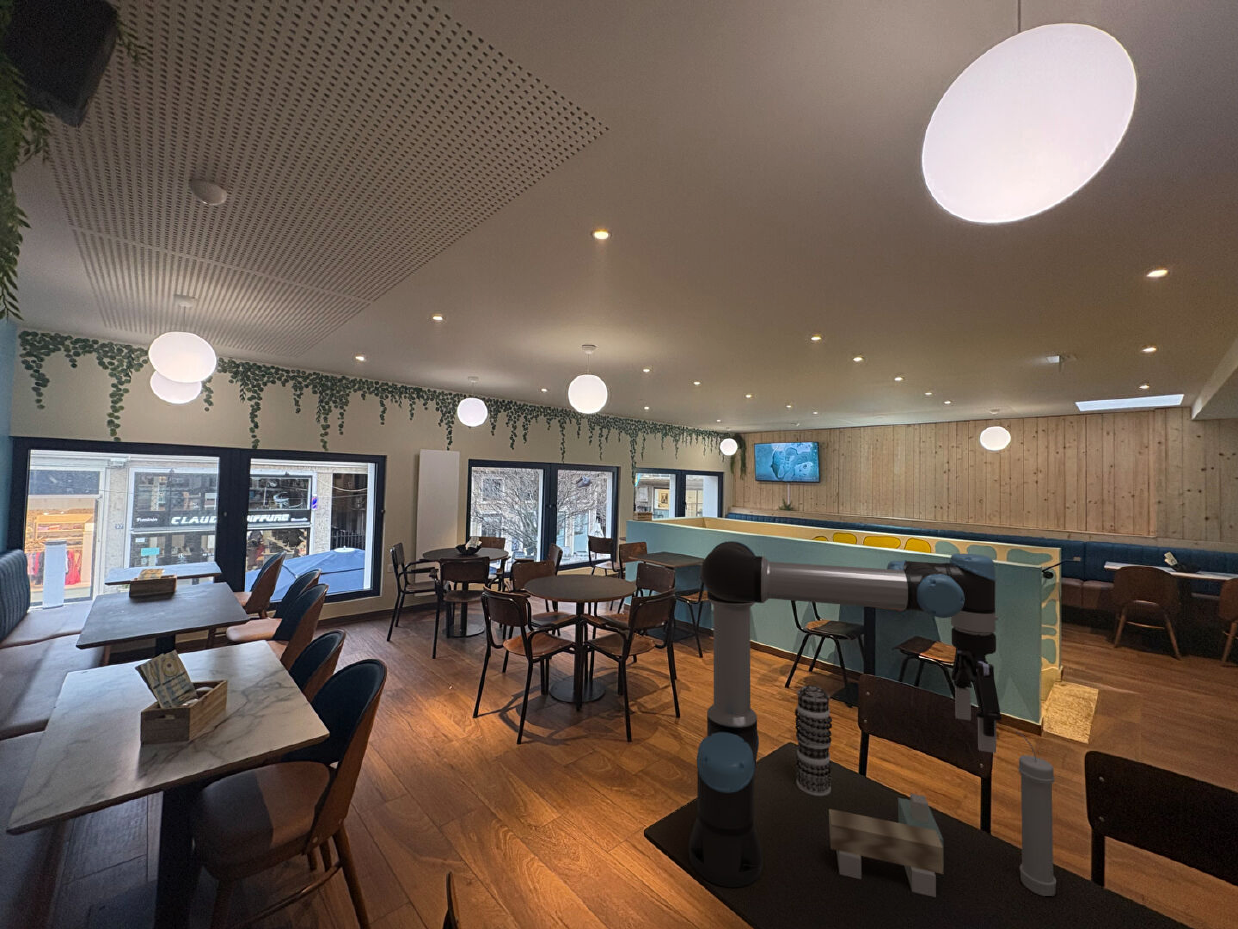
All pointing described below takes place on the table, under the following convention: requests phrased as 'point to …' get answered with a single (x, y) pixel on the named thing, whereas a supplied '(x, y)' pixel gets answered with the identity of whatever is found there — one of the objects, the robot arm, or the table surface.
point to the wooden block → (886, 841)
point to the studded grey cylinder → (813, 741)
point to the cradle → (917, 877)
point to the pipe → (1037, 824)
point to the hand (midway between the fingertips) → (974, 734)
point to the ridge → (917, 814)
